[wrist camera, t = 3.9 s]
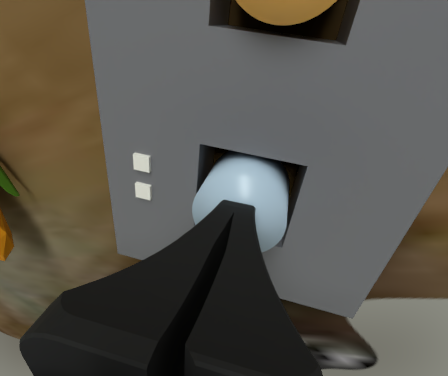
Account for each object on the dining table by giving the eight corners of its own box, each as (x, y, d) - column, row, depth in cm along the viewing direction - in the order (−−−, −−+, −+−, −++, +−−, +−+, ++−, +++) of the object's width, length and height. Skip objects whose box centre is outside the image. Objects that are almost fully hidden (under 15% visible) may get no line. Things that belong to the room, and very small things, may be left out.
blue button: (298, 156, 13) (298, 189, 10) (279, 223, 15) (274, 264, 12) (215, 139, 13) (194, 166, 11) (208, 206, 15) (189, 242, 13)
